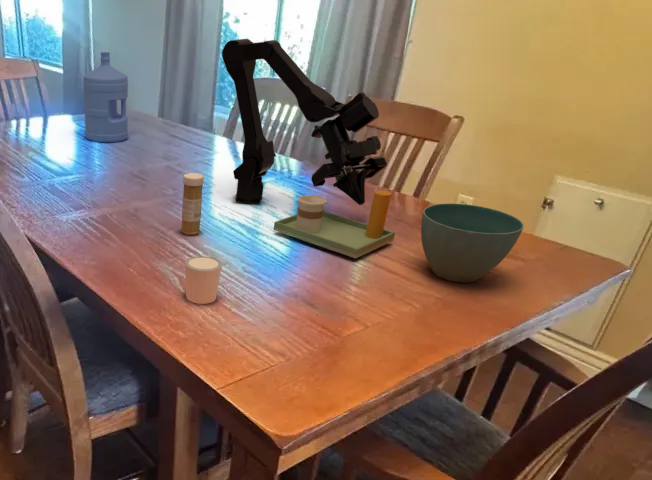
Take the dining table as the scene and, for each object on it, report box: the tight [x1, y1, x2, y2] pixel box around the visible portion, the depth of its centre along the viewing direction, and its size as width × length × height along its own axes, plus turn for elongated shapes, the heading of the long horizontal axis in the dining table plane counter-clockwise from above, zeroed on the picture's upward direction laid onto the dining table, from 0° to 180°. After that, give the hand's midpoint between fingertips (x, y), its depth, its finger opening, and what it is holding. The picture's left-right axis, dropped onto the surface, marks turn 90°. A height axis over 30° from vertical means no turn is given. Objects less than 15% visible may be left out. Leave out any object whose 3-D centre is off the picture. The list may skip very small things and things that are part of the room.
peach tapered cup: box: [184, 255, 223, 305], centre depth 114 cm, size 7×7×7 cm
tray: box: [273, 189, 396, 259], centre depth 139 cm, size 22×16×11 cm
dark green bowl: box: [420, 202, 525, 283], centre depth 124 cm, size 18×18×12 cm
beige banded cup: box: [295, 194, 328, 233], centre depth 141 cm, size 6×6×7 cm
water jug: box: [82, 51, 129, 143], centre depth 216 cm, size 16×16×28 cm
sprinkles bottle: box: [180, 172, 205, 236], centre depth 141 cm, size 5×5×14 cm
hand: (362, 204), depth 142 cm, fingers closed
